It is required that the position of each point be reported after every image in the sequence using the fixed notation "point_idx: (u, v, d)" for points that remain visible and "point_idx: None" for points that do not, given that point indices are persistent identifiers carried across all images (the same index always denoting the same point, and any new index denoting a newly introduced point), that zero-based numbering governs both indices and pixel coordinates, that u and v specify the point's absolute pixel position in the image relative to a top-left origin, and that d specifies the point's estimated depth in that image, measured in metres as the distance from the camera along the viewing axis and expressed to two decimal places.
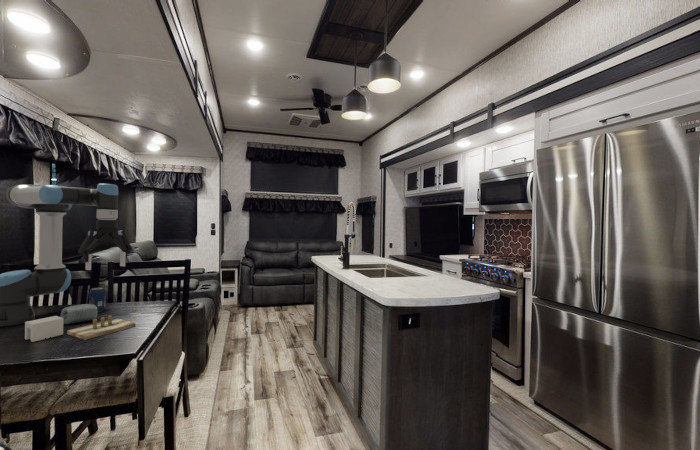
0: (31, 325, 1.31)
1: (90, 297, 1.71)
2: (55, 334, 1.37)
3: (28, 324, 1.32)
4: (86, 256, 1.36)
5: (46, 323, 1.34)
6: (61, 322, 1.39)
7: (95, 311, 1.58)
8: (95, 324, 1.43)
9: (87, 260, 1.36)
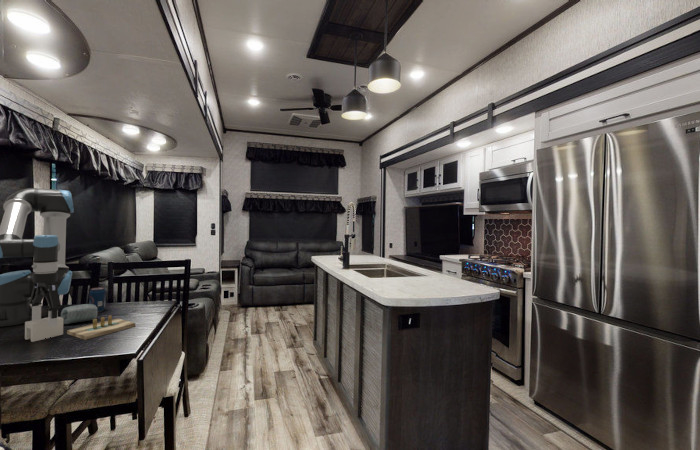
0: (31, 325, 1.31)
1: (90, 297, 1.71)
2: (55, 334, 1.37)
3: (28, 324, 1.32)
4: None
5: (46, 323, 1.34)
6: (61, 322, 1.39)
7: (95, 311, 1.58)
8: (95, 324, 1.43)
9: None
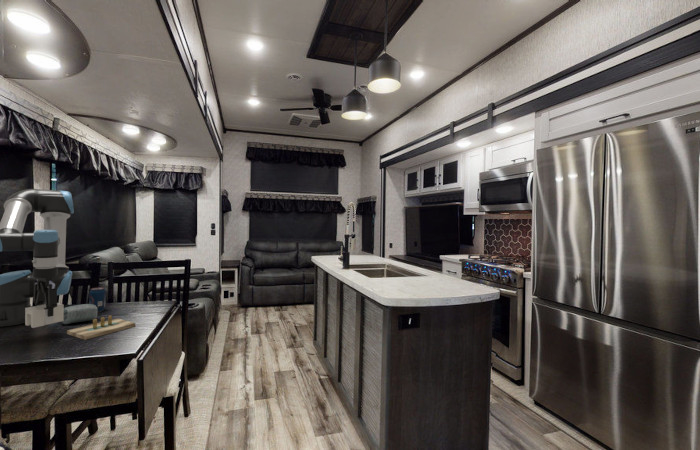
0: (31, 311, 1.31)
1: (90, 297, 1.71)
2: (55, 320, 1.37)
3: (28, 310, 1.32)
4: None
5: None
6: (62, 308, 1.39)
7: (95, 311, 1.58)
8: (95, 324, 1.43)
9: None
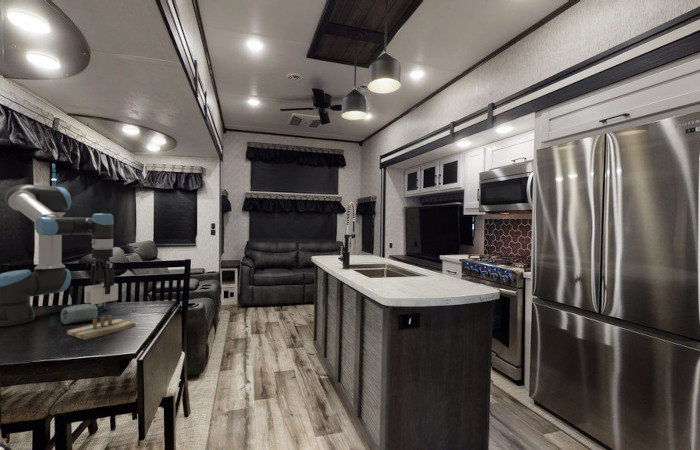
0: (91, 289, 1.40)
1: None
2: (111, 299, 1.46)
3: (88, 288, 1.41)
4: None
5: None
6: (116, 287, 1.48)
7: (95, 311, 1.58)
8: (95, 324, 1.43)
9: None
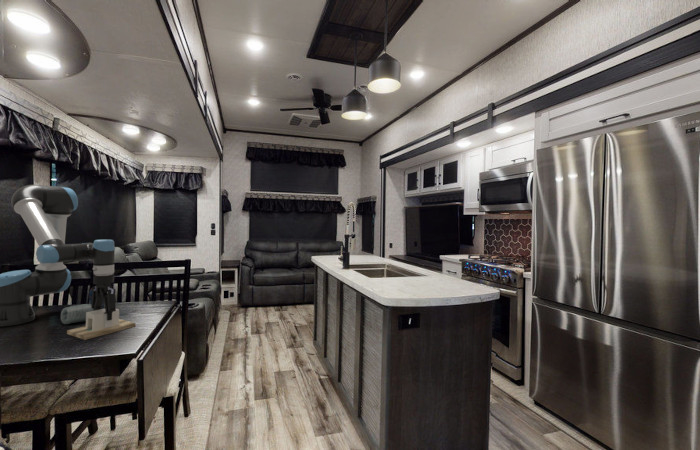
0: (93, 315, 1.40)
1: (90, 297, 1.71)
2: (112, 324, 1.46)
3: (89, 314, 1.41)
4: None
5: None
6: (118, 313, 1.48)
7: None
8: None
9: None
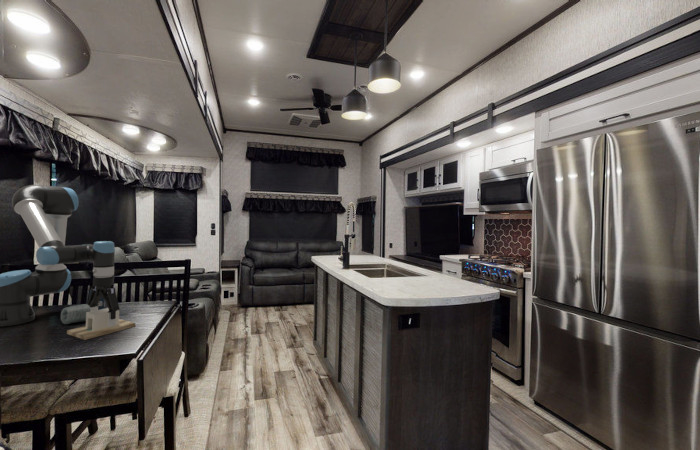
0: (93, 315, 1.40)
1: None
2: None
3: (89, 314, 1.41)
4: None
5: (105, 314, 1.44)
6: (118, 313, 1.48)
7: None
8: None
9: None
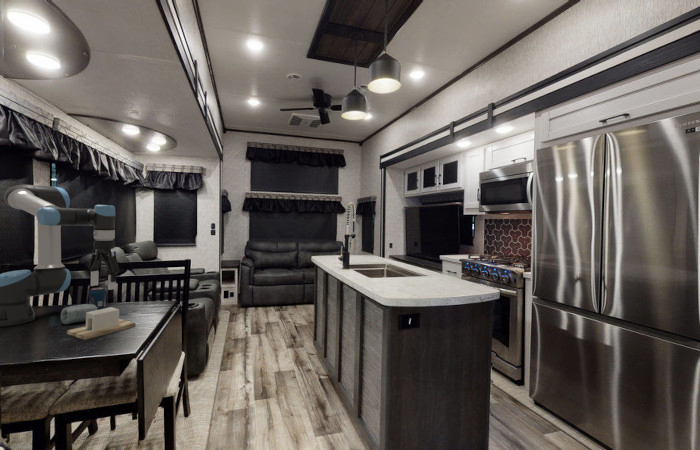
0: (93, 315, 1.40)
1: (90, 297, 1.71)
2: (112, 324, 1.46)
3: (89, 314, 1.41)
4: None
5: (105, 314, 1.44)
6: (118, 313, 1.48)
7: None
8: None
9: None
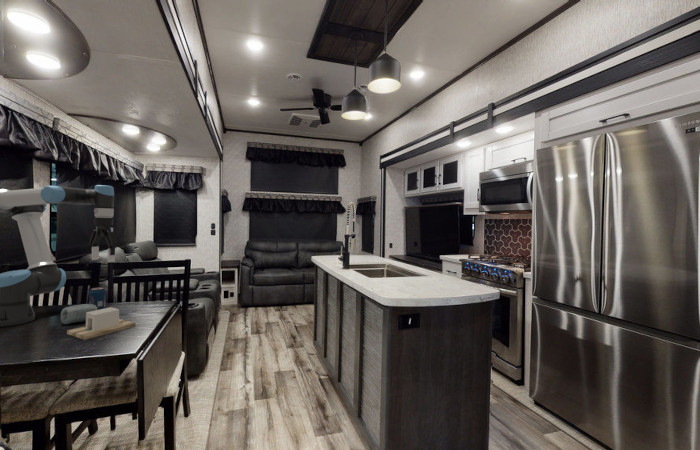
0: (93, 315, 1.40)
1: (90, 297, 1.71)
2: (112, 324, 1.46)
3: (89, 314, 1.41)
4: None
5: (105, 314, 1.44)
6: (118, 313, 1.48)
7: None
8: None
9: None
